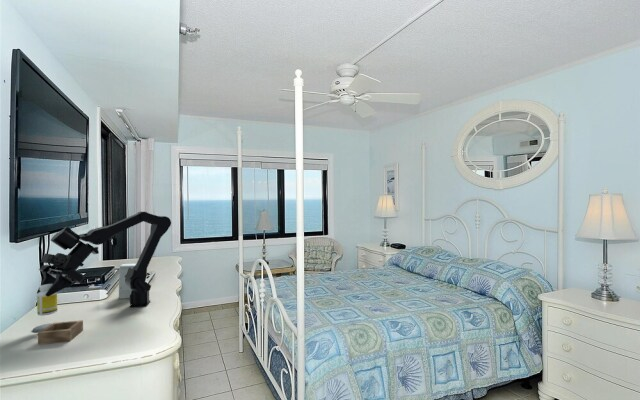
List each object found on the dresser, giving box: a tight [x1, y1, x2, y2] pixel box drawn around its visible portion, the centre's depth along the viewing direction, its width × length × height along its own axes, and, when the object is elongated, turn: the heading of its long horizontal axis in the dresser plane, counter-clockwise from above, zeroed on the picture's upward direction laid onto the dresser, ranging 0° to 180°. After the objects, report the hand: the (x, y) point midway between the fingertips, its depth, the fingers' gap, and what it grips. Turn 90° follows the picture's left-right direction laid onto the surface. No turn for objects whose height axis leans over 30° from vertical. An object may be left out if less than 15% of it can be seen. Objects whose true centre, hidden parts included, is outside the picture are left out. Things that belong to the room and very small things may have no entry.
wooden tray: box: [37, 319, 84, 345], centre depth 109 cm, size 9×9×4 cm
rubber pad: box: [32, 322, 53, 333], centre depth 117 cm, size 7×7×1 cm
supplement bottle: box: [36, 284, 58, 316], centre depth 116 cm, size 5×5×10 cm
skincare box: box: [118, 263, 137, 300], centre depth 153 cm, size 8×6×15 cm
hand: (42, 294), depth 115 cm, fingers closed on supplement bottle, 5 cm apart
